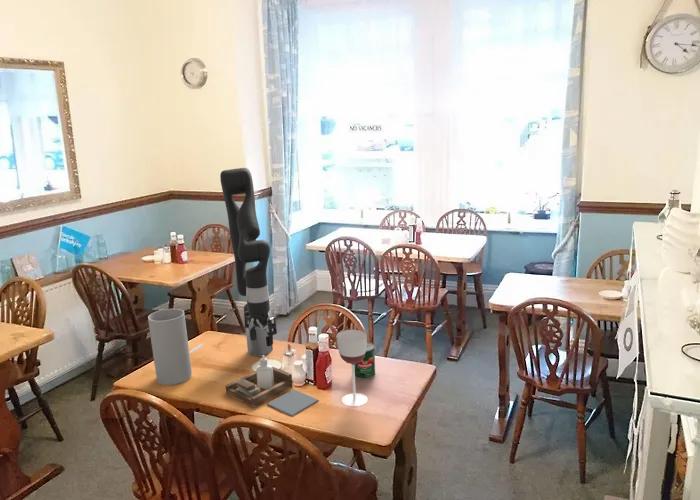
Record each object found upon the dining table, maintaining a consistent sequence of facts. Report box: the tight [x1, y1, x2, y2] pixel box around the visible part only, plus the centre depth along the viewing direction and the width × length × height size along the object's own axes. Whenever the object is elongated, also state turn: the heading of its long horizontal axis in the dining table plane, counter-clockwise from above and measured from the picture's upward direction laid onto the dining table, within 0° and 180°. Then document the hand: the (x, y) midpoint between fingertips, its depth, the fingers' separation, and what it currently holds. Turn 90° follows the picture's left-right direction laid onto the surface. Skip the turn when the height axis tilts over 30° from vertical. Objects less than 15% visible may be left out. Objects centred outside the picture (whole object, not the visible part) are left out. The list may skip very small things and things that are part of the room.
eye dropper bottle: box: [255, 355, 275, 390], centre depth 200 cm, size 4×6×12 cm
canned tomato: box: [354, 341, 376, 380], centre depth 206 cm, size 8×8×11 cm
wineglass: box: [336, 329, 369, 407], centre depth 187 cm, size 9×10×23 cm
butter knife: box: [189, 343, 205, 355], centre depth 229 cm, size 1×27×3 cm
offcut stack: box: [235, 379, 261, 397], centre depth 195 cm, size 4×9×5 cm, turn 46°
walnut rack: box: [224, 363, 293, 408], centre depth 199 cm, size 17×16×5 cm
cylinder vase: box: [147, 308, 193, 386], centre depth 208 cm, size 12×12×25 cm
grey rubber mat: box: [267, 389, 320, 417], centre depth 190 cm, size 12×12×1 cm
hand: (261, 342), depth 197 cm, fingers open, 8 cm apart
